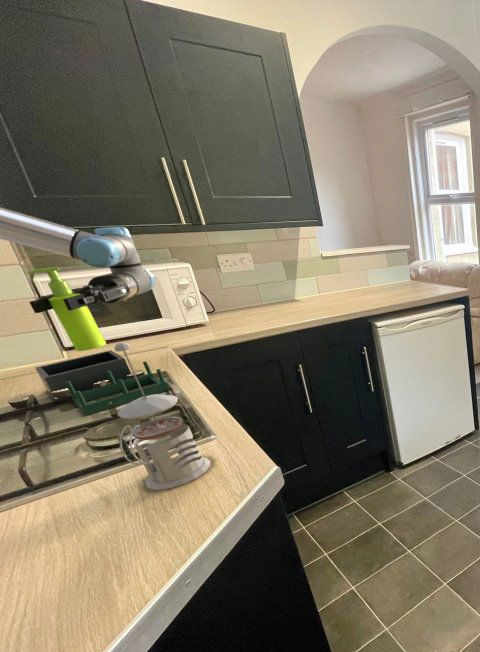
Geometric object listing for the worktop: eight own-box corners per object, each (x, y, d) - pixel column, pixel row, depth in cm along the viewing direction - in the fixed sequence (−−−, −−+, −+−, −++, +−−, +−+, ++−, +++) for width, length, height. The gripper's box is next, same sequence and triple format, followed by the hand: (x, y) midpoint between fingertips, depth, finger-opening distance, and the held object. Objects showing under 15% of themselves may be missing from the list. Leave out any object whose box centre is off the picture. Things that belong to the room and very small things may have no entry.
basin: (57, 402, 108) (44, 377, 105) (47, 390, 116) (34, 367, 113) (134, 381, 120) (124, 358, 117) (121, 371, 127) (111, 350, 125)
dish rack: (86, 415, 100) (74, 393, 98) (74, 403, 107) (63, 382, 105) (170, 389, 113) (161, 369, 110) (155, 380, 119) (146, 360, 117)
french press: (222, 456, 81) (173, 332, 70) (177, 496, 70) (112, 356, 60) (173, 458, 81) (117, 334, 71) (121, 497, 71) (46, 358, 60)
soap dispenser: (70, 349, 107) (26, 269, 99) (105, 341, 111) (66, 264, 103) (70, 353, 103) (24, 271, 95) (106, 345, 107) (66, 266, 99)
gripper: (155, 298, 122) (104, 317, 101) (79, 304, 118) (10, 325, 98) (145, 271, 119) (90, 286, 98) (67, 277, 115) (-7, 293, 94)
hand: (51, 306), depth 98 cm, fingers closed on soap dispenser, 6 cm apart
